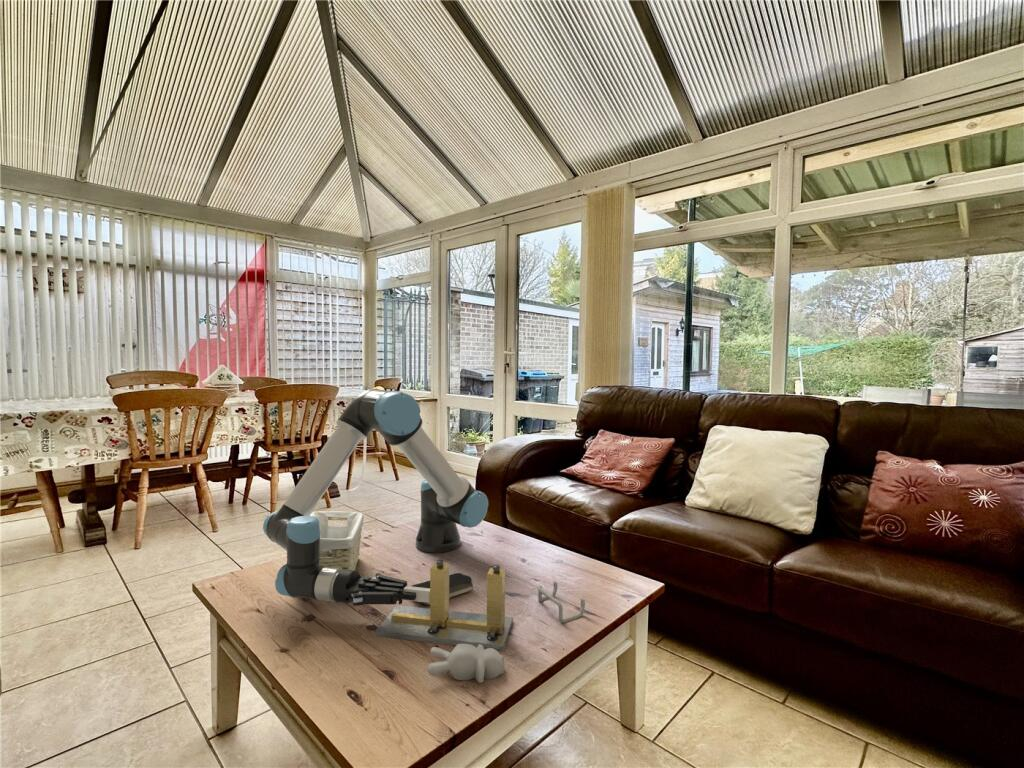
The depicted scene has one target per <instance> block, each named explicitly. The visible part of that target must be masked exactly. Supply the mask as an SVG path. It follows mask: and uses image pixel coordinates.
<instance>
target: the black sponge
mask: <svg viewBox="0 0 1024 768" xmlns="http://www.w3.org/2000/svg"><path fill="white" fill-rule="evenodd" d="M472 579H473V578H472V577H471V576H469V575H466V574H463V573H460V572H456V573H452V574H449V599H450V598H452V597H455V596H459V595H461V594H464V593H468V592H470V591H471V590H472V589H473V588H474V585H473V581H472ZM411 587H420V588H429V589H430V580H427V581H423V582H421V583H416V584H413V585H412V584H411ZM419 603H420V604H423V605H430V603H427V602H419Z"/></svg>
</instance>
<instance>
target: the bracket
mask: <svg viewBox="0 0 1024 768" xmlns="http://www.w3.org/2000/svg"><path fill="white" fill-rule="evenodd" d="M558 586H559V585H558V582H557V581H556V580H554V581H553V590H552V593H551V594H550V593H548V592H547V591H546V590H544V589H543V586H542V585H540V584H539V585H538V586H537V591H538V594H537V597H538V598H537V600H538V602H540V603H541V602H543V601H546V600H550V601H551V602H553V603H554V604H555V605H556V606H557V607H558V621H559V622H560V623H562V624H563V623H564V624H565V623H567V622H571V621H573V619H574V620H575V619H579V618H581V617H582V616H583V615H584V613H585V608H586V600H585V599H584V598H581V599H580V610H579V612H578V613H576V614H574V615H571V616H570V615H569V616H568V617H565V618H563V617H564V615H563V613H564V612H563V609H564V608H563V604H562V603H561V601H559V600H558V599H556V598H555V597H556V595H557V591H558ZM542 595H543V596H542ZM580 616H581V617H580ZM578 617H579V618H578ZM570 620H571V621H570Z"/></svg>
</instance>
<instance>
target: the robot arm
mask: <svg viewBox="0 0 1024 768" xmlns="http://www.w3.org/2000/svg"><path fill="white" fill-rule="evenodd" d="M420 413H421V408H420V405H419V403H418V401H417V400H416V399H415V398H414V397H413V396H412V395H410V394H409V393H405V392H402V391H400V390H385V389H376V388H375V389H373V388H372V389H367V390H365V391H363V392H361V393H359V395H357V396H356V397H354V399H352V401H351V402H350V403H349V404H348V405H347V406H346V408H345V409H344V411H343V412H342V413H341V414H340V416H339V418H338V419H337V421H336V428H335V429H334V431H333V432H332V433H331V436H329V438H328V440H327V441H326V443H325V444H324V446H322V448H321V450H320V451H319V453H318V454H317V455H316V457H315V458H314V460H313V461H312V462H311V463H310V466H308V468H307V470H306V471H305V472H304V474H303V475H302V476H301V479H299V480H298V482H297V484H296V485H295V487H294V489H293V490H292V491H291V492H290V494H289V495H288V496H287V499H286V500H285V501H284V502H283V504H282V505H281V507H280V509H279V510H276V511H273V512H271V513H270V514H269V515H267V516H266V518H265V519H264V521H263V525H262V529H263V533H264V534H265V535H266V537H267V538H268V539H269V540H270V541H271V542H273V543H275V544H277V545H278V546H280V547H281V548H282V549H283V550H285V551H286V563H285V564H283V565H282V566H281V567H280V568H279V570H277V574H276V579H275V580H274V581H275V582H274V585H275V586H274V587H275V590H276V592H277V593H278V594H280V595H281V596H286V597H290V598H294V599H296V598H297V599H300V598H301V599H309V600H310V599H311V600H319V601H326V602H327V603H329V602H336V603H338V604H339V603H341V604H351V603H353V604H352V606H353V607H357V606H363V605H368V606H369V605H397V602H398V605H402V604H403V601H412V602H418V603H420V602H427V603H430V589H429V588H420V587H411V586H412V585H411V586H410V585H408V581H407V580H406V579H405V580H404V579H400V578H396V577H391V576H387V575H384V574H382V573H381V572H376V573H375V576H374V577H371V576H364V577H362V576H361V575H360V573H359V572H358V571H357V570H356V569H355V570H346V569H343V570H342V569H339V568H328V567H320V566H319V549H320V524H319V520H318V518H316V517H314V516H310V515H311V513H312V512H314V509H315V508H316V507H317V505H318V503H319V502H320V500H322V498H323V496H324V494H325V493H326V492H327V490H328V489H329V487H330V486H331V485H332V483H333V481H334V480H335V478H336V477H337V475H338V474H339V472H340V471H341V470H342V469H343V466H344V465H345V463H346V462H347V461H348V459H349V458H350V456H351V455H352V453H353V452H354V451H355V449H356V447H357V445H358V444H359V443H360V441H363V440H366V438H367V437H368V435H369V434H370V433H371V432H372V431H377V432H378V433H379V434H380V435H381V437H382V438H384V440H385V441H386V442H387V443H388V445H390V446H393V447H396V446H397V447H398V448H399V449H400V450H401V452H402V453H403V454H404V456H405V457H406V459H408V461H409V462H410V463H411V464H412V465H413V467H414V468H415V469H416V470H417V472H418V473H419V474H420V475H421V477H422V478H423V479H424V480H423V481H422V482H421V484H420V485H421V486H420V525H419V528H418V531H417V534H416V537H415V547H416V548H417V549H418V550H419V551H422V552H425V553H432V554H433V553H434V554H435V553H445V552H450V551H453V550H455V549H457V548H459V546H460V544H461V535H460V533H459V529H458V526H457V525H459V526H461V527H464V528H475V527H477V526H478V525H480V524H481V523H482V522H483V520H485V517H486V515H487V512H488V508H489V499H488V496H487V495H486V494H485V492H482V491H481V490H476V489H475V488H474V487H473V486H472V484H471V483H470V481H469V480H468V479H467V477H464V476H459V475H458V474H457V472H456V471H455V470H454V469H453V467H452V466H451V464H450V463H449V462H448V461H447V459H446V458H445V456H444V455H443V454H442V452H441V451H440V450H439V448H438V447H437V446H436V445H435V443H434V442H433V440H431V438H430V437H429V435H428V434H427V433H426V432H425V430H424V429H423V427H422V426H423V419H422V418H421V414H420Z"/></svg>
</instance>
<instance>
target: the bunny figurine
mask: <svg viewBox="0 0 1024 768" xmlns="http://www.w3.org/2000/svg"><path fill="white" fill-rule="evenodd" d="M429 654H430V656H432V657H436V658H441V659H445V660H443V661H435V662H431V663H429V664H428V670H427V673H428V675H430V676H436V675H439V674H443V673H445V672H449V671H450V674H451V676H452V677H453V679H454V680H458V681H469V680H472V679H475V680H476V681H477V682H478V683H479V684H483V683H484V680H485V679H486V680H494V679H496V678H497V677H498V676H499V675H502V674H504V671H505V662H504V656H503V654H500V653H499V651H498V650H495V649H493V648H487V649H484V647H483V645H481V644H479V645H478V646H477V648H476V647H475V646H473V645H470V644H457V645H455V647H454V648H453V649H452V651H451V652H450V651H448V650H445V649H443V648H440V647H436V646H433V647H431V648H430V651H429Z"/></svg>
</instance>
